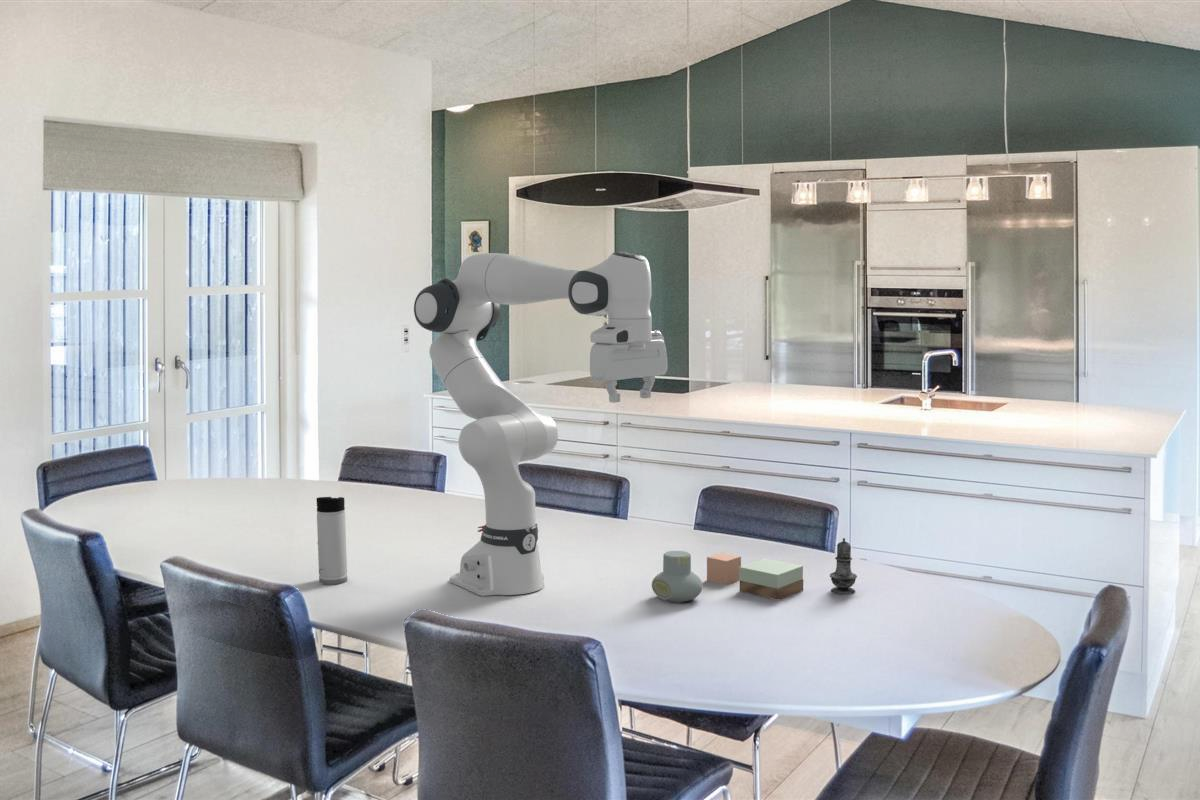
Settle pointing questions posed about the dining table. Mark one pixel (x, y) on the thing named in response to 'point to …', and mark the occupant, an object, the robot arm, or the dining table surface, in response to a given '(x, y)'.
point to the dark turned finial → (843, 570)
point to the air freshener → (677, 578)
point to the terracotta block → (723, 568)
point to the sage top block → (771, 573)
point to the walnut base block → (771, 589)
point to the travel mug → (331, 540)
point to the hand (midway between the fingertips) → (630, 400)
